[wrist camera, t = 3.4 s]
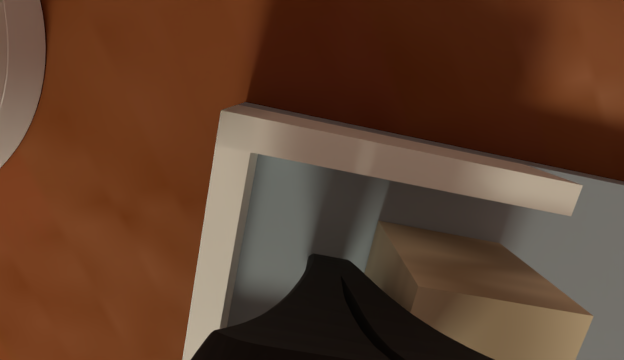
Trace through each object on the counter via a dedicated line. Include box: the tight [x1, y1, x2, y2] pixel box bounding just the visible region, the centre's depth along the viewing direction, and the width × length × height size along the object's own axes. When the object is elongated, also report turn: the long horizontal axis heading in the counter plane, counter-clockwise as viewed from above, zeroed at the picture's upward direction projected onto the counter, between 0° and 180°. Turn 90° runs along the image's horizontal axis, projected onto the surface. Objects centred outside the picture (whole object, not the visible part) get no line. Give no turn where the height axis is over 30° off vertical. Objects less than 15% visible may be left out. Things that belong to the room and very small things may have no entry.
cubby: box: [182, 105, 583, 360], centre depth 11 cm, size 9×9×2 cm
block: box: [364, 221, 594, 360], centre depth 11 cm, size 4×4×4 cm
